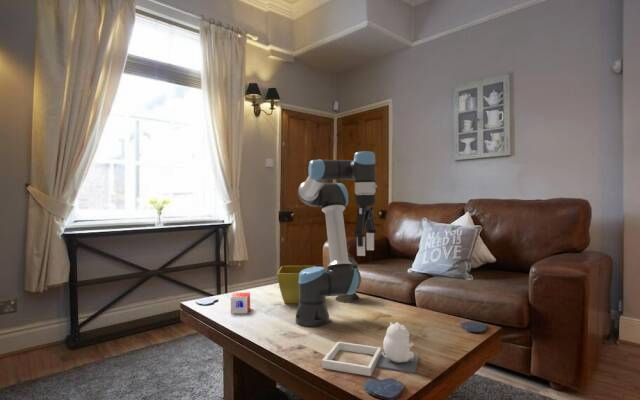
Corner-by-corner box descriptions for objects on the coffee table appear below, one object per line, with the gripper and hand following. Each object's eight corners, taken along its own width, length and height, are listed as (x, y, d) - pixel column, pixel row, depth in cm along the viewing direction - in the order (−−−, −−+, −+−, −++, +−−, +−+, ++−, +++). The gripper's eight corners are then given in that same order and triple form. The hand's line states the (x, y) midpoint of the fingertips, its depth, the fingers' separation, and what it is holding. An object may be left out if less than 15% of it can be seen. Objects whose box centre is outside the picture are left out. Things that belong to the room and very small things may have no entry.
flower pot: (314, 305, 184) (314, 272, 184) (277, 305, 184) (276, 273, 184) (315, 295, 203) (315, 265, 203) (281, 295, 203) (281, 266, 203)
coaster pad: (376, 367, 116) (376, 365, 116) (383, 352, 128) (383, 350, 128) (414, 373, 112) (414, 371, 112) (418, 357, 123) (418, 355, 123)
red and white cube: (250, 308, 182) (249, 292, 182) (247, 313, 174) (247, 296, 174) (234, 308, 181) (233, 292, 181) (230, 313, 174) (230, 297, 173)
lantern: (329, 298, 196) (329, 252, 196) (349, 294, 205) (348, 250, 205) (346, 304, 185) (346, 255, 185) (366, 299, 194) (366, 252, 193)
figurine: (387, 367, 115) (386, 330, 115) (378, 354, 125) (378, 320, 125) (417, 365, 116) (416, 328, 116) (406, 352, 126) (406, 318, 126)
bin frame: (322, 367, 117) (321, 360, 117) (337, 348, 132) (337, 341, 132) (370, 376, 111) (370, 368, 111) (381, 354, 126) (381, 347, 126)
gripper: (366, 194, 118) (367, 258, 119) (382, 194, 142) (383, 248, 142) (345, 194, 121) (345, 257, 121) (363, 194, 144) (364, 247, 145)
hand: (365, 252), depth 132 cm, fingers open, 13 cm apart
